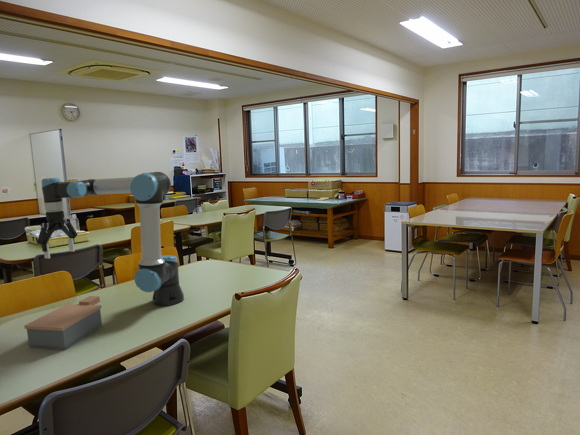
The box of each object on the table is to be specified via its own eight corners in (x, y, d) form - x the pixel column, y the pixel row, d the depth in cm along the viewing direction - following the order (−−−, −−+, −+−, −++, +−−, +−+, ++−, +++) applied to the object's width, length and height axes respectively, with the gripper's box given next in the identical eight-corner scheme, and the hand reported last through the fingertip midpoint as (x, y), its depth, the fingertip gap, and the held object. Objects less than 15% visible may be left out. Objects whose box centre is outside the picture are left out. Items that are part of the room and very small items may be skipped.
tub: (102, 326, 178) (100, 308, 177) (65, 350, 157) (62, 330, 156) (69, 324, 182) (67, 306, 180) (29, 347, 160) (26, 328, 159)
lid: (111, 304, 185) (111, 296, 184) (62, 333, 155) (61, 324, 155) (79, 303, 188) (78, 295, 187) (25, 331, 159) (23, 322, 158)
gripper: (70, 207, 208) (75, 248, 211) (23, 214, 185) (30, 260, 188) (82, 207, 205) (87, 248, 208) (35, 215, 182) (42, 261, 185)
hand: (60, 254), depth 198 cm, fingers open, 13 cm apart
